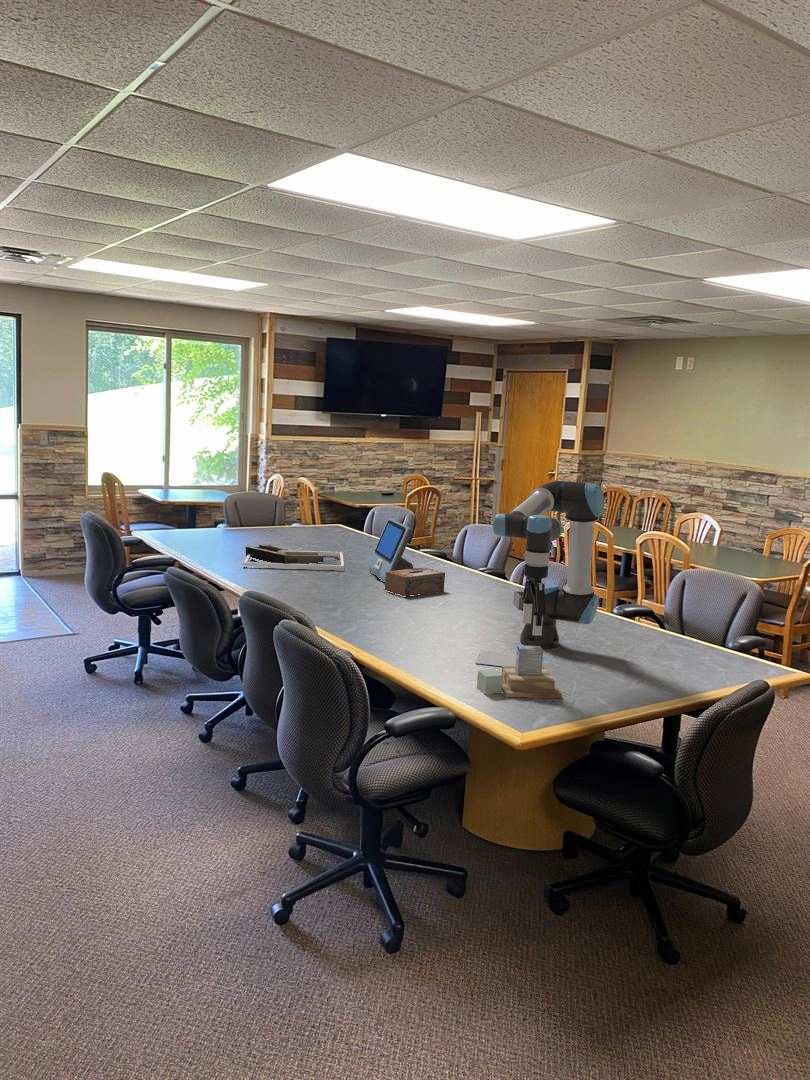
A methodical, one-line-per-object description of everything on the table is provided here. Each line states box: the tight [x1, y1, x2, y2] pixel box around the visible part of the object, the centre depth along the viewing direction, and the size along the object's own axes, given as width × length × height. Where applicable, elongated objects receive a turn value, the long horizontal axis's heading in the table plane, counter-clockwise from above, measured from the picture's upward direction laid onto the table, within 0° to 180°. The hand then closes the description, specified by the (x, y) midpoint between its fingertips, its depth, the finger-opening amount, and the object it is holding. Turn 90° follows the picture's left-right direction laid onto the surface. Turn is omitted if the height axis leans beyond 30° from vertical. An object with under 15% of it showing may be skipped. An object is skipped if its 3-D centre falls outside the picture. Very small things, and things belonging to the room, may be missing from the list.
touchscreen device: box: [368, 517, 414, 583], centre depth 426 cm, size 35×20×30 cm, turn 17°
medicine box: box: [515, 645, 544, 675], centre depth 265 cm, size 8×4×9 cm, turn 93°
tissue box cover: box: [384, 566, 446, 596], centre depth 399 cm, size 26×14×10 cm, turn 131°
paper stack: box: [475, 649, 516, 667], centre depth 291 cm, size 23×25×1 cm
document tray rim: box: [243, 550, 345, 570], centre depth 457 cm, size 42×53×3 cm
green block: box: [476, 669, 503, 695], centre depth 262 cm, size 6×6×6 cm
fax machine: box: [245, 544, 341, 564], centre depth 457 cm, size 45×34×10 cm
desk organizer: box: [512, 590, 525, 610], centre depth 380 cm, size 11×21×6 cm, turn 95°
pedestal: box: [501, 665, 563, 699], centre depth 266 cm, size 18×18×5 cm
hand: (531, 629), depth 264 cm, fingers open, 13 cm apart
